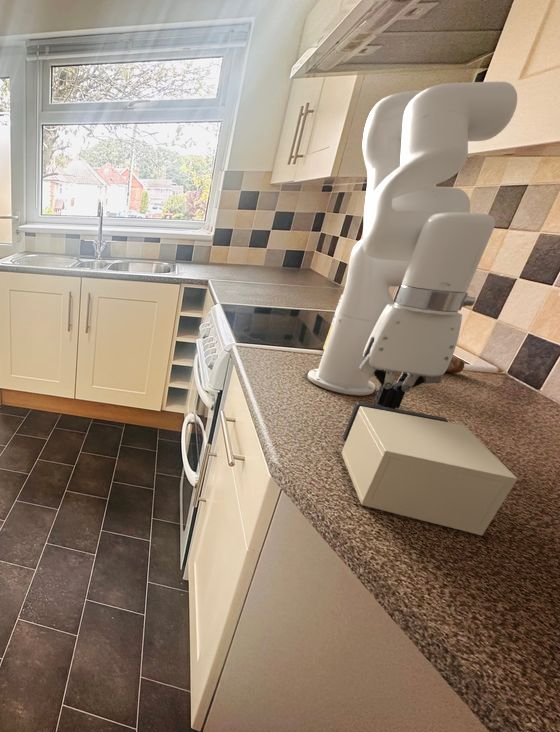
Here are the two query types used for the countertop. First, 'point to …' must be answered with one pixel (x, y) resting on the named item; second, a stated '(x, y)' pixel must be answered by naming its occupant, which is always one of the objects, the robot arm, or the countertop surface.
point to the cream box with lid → (425, 470)
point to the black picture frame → (385, 410)
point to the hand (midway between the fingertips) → (384, 409)
